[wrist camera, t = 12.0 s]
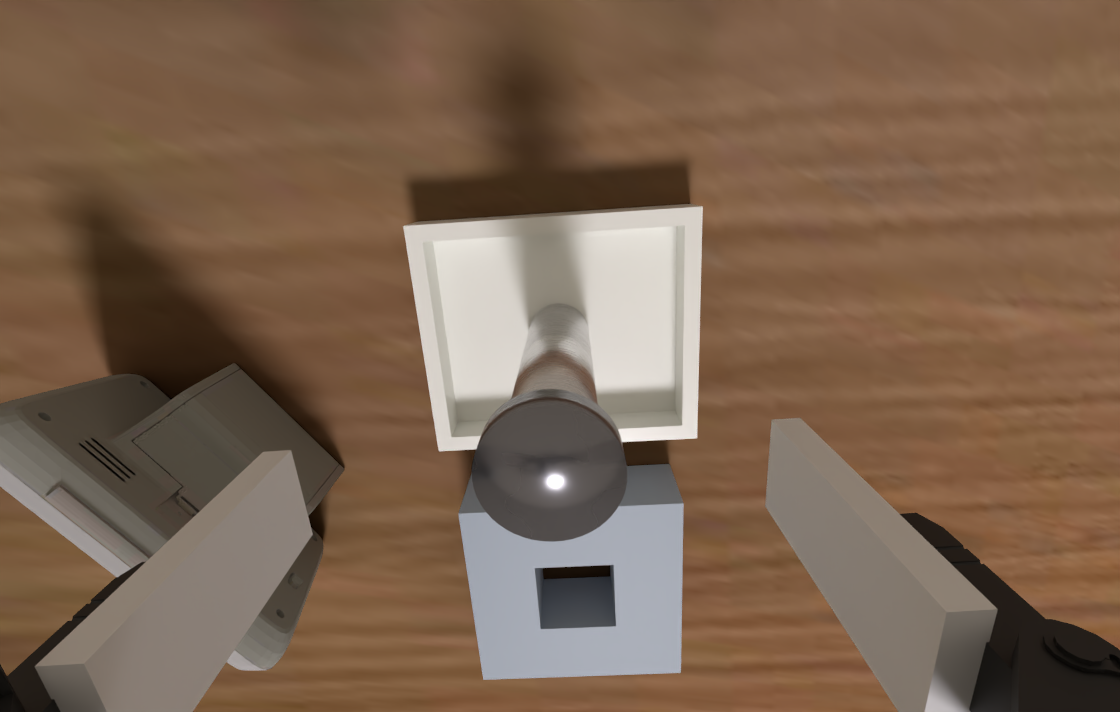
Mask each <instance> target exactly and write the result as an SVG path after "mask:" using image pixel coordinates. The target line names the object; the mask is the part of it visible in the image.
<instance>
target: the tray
mask: <svg viewBox="0 0 1120 712" xmlns="http://www.w3.org/2000/svg"><path fill="white" fill-rule="evenodd" d="M702 212H703V206H698V205H694V204H680V205H664V206H649V207H634V208H618V209H603V210H588V211H572V212H557V213H542V214H526V215H511V216H496V217H480V218H465V219H450V220H434V221H419V222H415V223H411V224H408V225H405V226H403V227H404V234H405V240H406V246H407V253H408V259H409V265H410V272H411V278H412V284H413V291H414V297H415V303H416V310H417V316H418V322H419V329H420V335H421V342H422V348H423V354H424V361H425V367H426V373H427V380H428V386H429V392H430V399H431V405H432V411H433V418H434V424H435V430H436V437H437V443H438V449H439V451H454V450H474V449H477V446H478V443H479V440H480V437H481V434H482V431H483V429H484V427H485V425H486V423H487V422H488V420H489V418H490V417H491V416H492V415H493V413H494V412H495V411H496V410H497V409H498V408H499V407H500V406H502V405H503V404H504V403H506V402H507V401H509V400H510V399H511V398H512V394H513V390H514V386H515V382H516V378H517V374H518V370H519V367H520V363H521V359H522V355H523V351H524V347H525V343H526V340H527V336H528V332H529V328H530V324H531V321H532V319H533V317H534V316H535V315H536V313H537V312H538V311H539V310H541V309H542V308H544V307H546V306H548V305H551V304H557V303H558V304H567V305H570V306H572V307H574V308H576V309H577V310H578V311H580V312H581V313H582V315H583V316H584V317H585V319H586V321H587V324H588V329H589V337H590V345H591V353H592V362H593V370H594V378H595V386H596V395H597V403H598V405H599V406H600V407H601V408H602V409H603V410H604V411H605V412H606V413H607V414H608V415H609V416H610V417H611V419H612V420H613V421H614V423H615V425H616V427H617V428H618V431H619V433H620V436H621V440H622V442H633V441H653V440H673V439H693V438H697V419H698V378H699V336H700V295H701V254H702Z"/></svg>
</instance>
